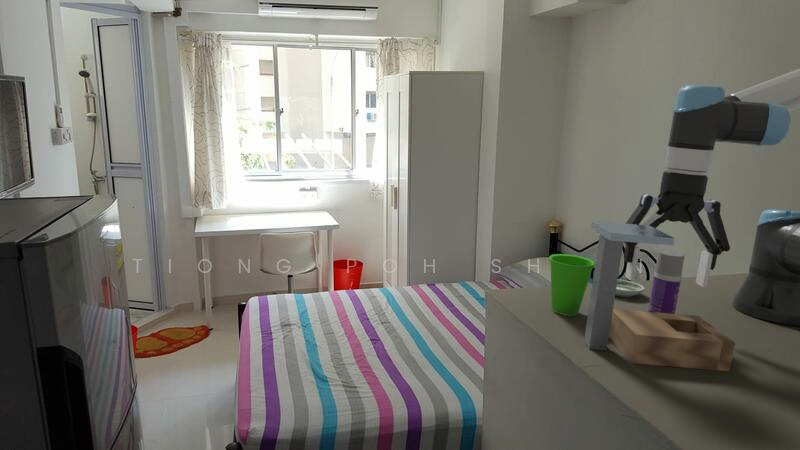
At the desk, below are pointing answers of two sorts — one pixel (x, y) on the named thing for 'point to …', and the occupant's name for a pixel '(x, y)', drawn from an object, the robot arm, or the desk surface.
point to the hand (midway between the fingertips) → (665, 282)
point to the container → (666, 282)
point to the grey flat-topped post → (612, 274)
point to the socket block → (670, 340)
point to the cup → (569, 281)
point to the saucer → (628, 288)
